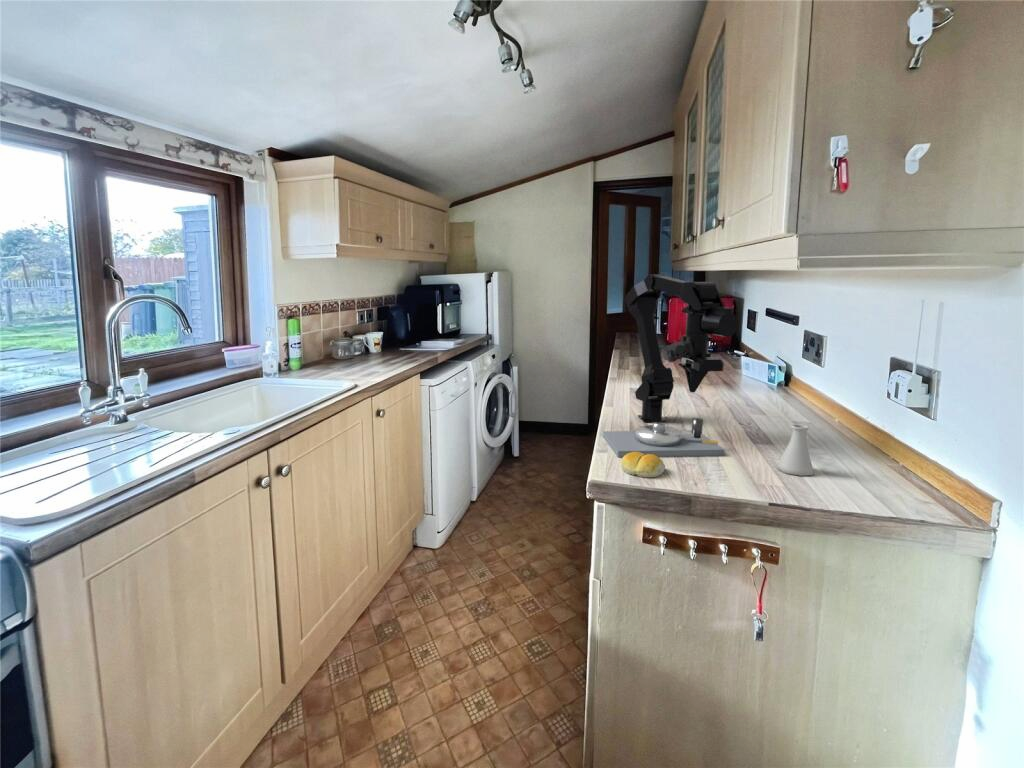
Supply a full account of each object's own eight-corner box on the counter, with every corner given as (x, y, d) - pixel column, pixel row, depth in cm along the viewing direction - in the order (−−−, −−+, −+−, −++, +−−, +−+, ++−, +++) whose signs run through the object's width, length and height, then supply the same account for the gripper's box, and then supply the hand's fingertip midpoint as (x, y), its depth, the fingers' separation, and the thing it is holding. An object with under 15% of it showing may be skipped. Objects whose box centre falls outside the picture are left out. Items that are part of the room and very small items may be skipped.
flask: (819, 478, 106) (825, 431, 104) (782, 475, 107) (787, 429, 105) (807, 465, 113) (812, 422, 111) (771, 463, 114) (776, 420, 112)
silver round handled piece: (637, 445, 122) (638, 422, 121) (633, 431, 132) (634, 411, 131) (706, 448, 119) (708, 425, 118) (696, 434, 130) (698, 413, 129)
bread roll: (630, 461, 116) (631, 444, 115) (668, 470, 111) (669, 453, 110) (613, 471, 110) (613, 454, 109) (652, 482, 104) (653, 463, 103)
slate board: (602, 436, 134) (603, 429, 133) (698, 435, 135) (698, 427, 135) (617, 457, 118) (618, 448, 118) (725, 455, 119) (726, 447, 119)
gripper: (653, 328, 138) (649, 384, 141) (682, 337, 120) (677, 401, 123) (692, 328, 139) (687, 384, 142) (728, 336, 121) (721, 400, 124)
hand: (692, 392), depth 133 cm, fingers closed
